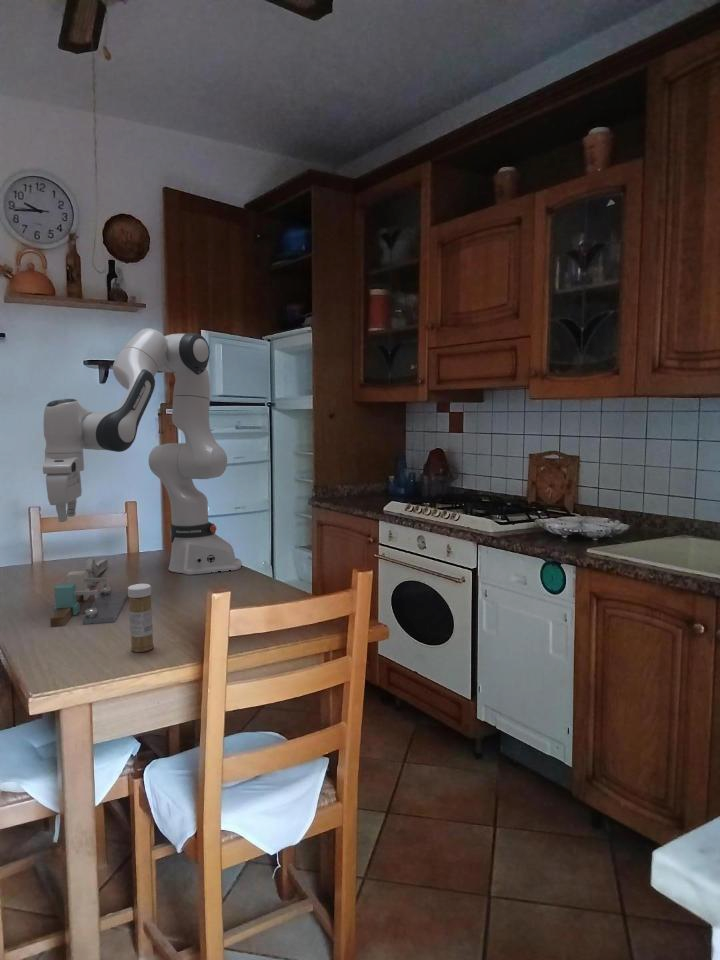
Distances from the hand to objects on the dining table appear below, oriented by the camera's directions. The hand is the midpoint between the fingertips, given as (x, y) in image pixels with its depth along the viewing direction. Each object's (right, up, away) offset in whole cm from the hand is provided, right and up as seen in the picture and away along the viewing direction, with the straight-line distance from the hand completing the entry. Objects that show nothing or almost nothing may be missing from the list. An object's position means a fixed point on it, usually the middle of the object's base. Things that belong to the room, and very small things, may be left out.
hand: (67, 519), depth 172 cm
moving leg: (+4, -23, -5) cm, 24 cm away
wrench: (-4, -20, +30) cm, 36 cm away
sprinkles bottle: (+29, -26, -30) cm, 49 cm away
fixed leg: (+2, -21, +8) cm, 23 cm away
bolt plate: (+10, -22, -1) cm, 25 cm away
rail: (+2, -23, -3) cm, 23 cm away
